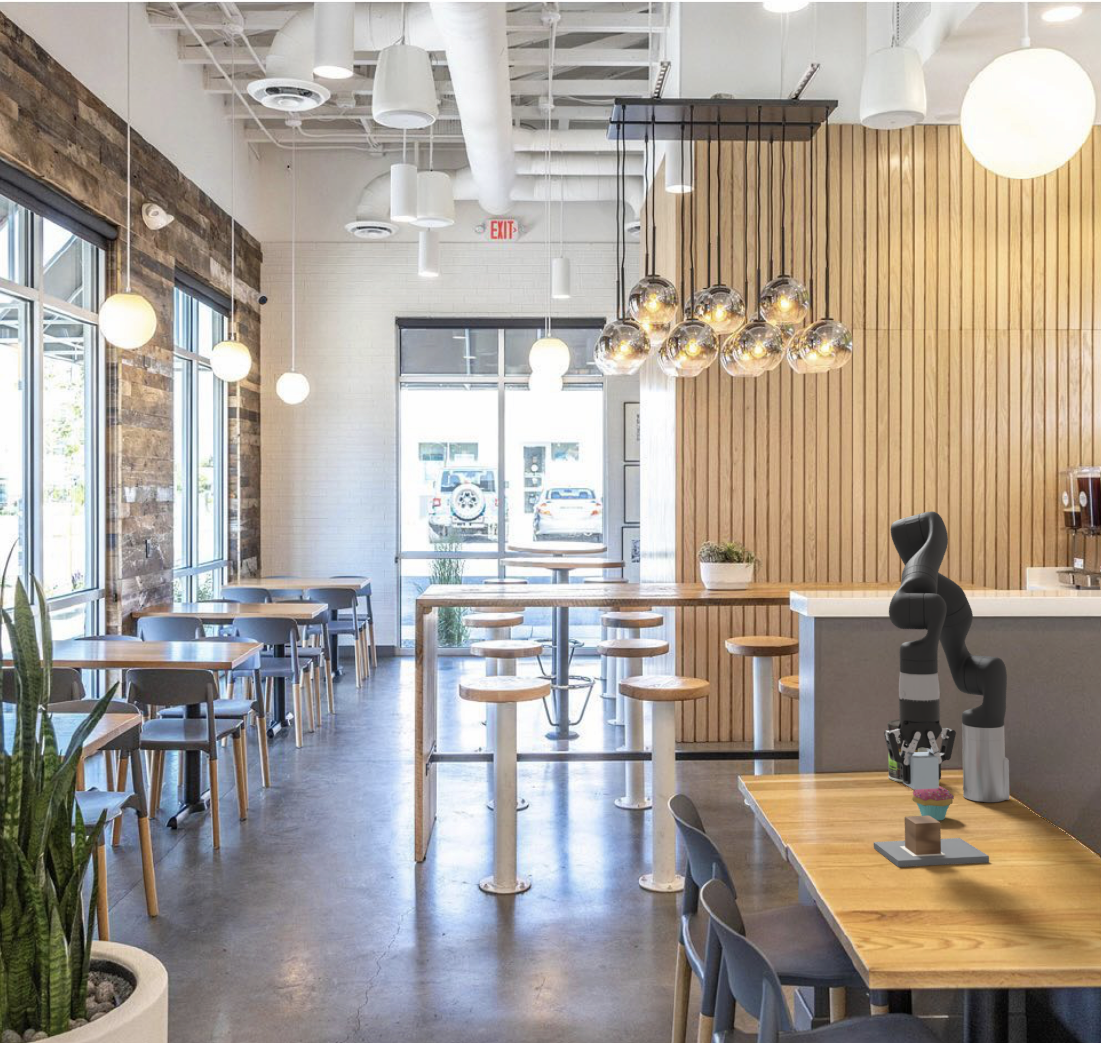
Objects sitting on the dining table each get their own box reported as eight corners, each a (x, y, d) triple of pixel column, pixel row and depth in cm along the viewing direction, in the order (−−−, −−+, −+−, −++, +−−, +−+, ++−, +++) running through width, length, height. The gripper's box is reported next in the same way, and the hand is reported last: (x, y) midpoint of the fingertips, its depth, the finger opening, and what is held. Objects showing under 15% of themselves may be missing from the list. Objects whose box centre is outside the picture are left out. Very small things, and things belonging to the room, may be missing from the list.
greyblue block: (927, 782, 216) (927, 751, 215) (938, 788, 211) (938, 757, 211) (903, 783, 215) (902, 752, 215) (913, 789, 210) (913, 758, 210)
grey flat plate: (959, 843, 221) (959, 837, 221) (989, 862, 209) (988, 855, 209) (873, 848, 219) (873, 841, 219) (898, 867, 207) (898, 860, 207)
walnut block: (929, 846, 215) (929, 815, 215) (940, 853, 211) (940, 822, 211) (905, 847, 215) (904, 816, 215) (915, 854, 210) (915, 823, 210)
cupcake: (959, 817, 240) (958, 762, 240) (943, 825, 234) (942, 769, 234) (922, 810, 246) (921, 757, 246) (905, 818, 240) (904, 764, 240)
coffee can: (898, 784, 270) (897, 727, 270) (881, 774, 280) (880, 720, 280) (938, 782, 271) (937, 725, 271) (920, 773, 281) (919, 718, 281)
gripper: (945, 691, 217) (947, 776, 217) (876, 693, 216) (877, 779, 216) (963, 697, 210) (965, 786, 210) (891, 699, 208) (892, 789, 208)
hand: (920, 782), depth 213 cm, fingers closed on greyblue block, 5 cm apart
